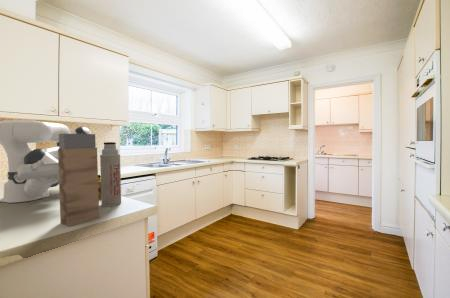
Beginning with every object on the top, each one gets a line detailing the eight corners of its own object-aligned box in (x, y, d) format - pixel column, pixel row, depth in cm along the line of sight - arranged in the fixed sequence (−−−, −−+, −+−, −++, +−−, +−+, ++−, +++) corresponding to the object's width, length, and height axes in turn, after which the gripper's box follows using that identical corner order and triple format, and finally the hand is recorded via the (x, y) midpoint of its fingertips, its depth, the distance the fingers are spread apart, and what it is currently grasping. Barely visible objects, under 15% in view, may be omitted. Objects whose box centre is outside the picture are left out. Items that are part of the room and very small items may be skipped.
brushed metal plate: (48, 148, 80) (47, 134, 80) (78, 147, 88) (78, 134, 88) (64, 148, 73) (63, 133, 73) (95, 147, 81) (95, 134, 81)
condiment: (103, 200, 106) (102, 175, 106) (82, 203, 102) (82, 177, 101) (102, 197, 113) (101, 173, 112) (82, 199, 108) (81, 175, 107)
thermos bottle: (124, 203, 100) (122, 142, 99) (105, 207, 95) (103, 142, 94) (117, 200, 106) (115, 142, 105) (98, 203, 100) (97, 142, 99)
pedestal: (60, 223, 77) (57, 148, 76) (90, 214, 85) (88, 147, 84) (68, 226, 73) (65, 148, 72) (99, 217, 82) (97, 147, 81)
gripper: (10, 172, 87) (20, 155, 81) (69, 166, 105) (81, 152, 98) (14, 186, 86) (24, 171, 79) (72, 178, 103) (85, 165, 96)
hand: (56, 161), depth 89 cm, fingers open, 8 cm apart
